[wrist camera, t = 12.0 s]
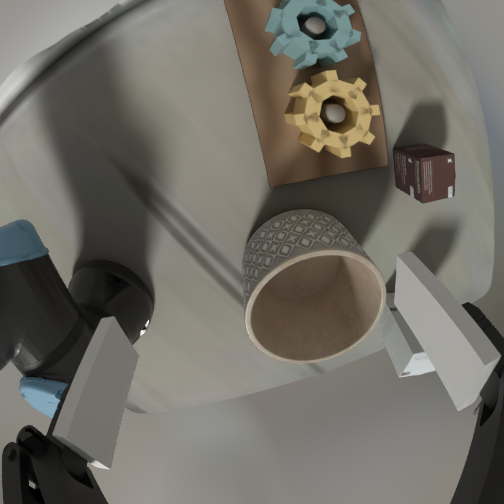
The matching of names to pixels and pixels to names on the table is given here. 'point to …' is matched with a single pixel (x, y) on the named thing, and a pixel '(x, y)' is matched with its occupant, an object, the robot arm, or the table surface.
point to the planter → (309, 288)
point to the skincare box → (402, 342)
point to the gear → (302, 46)
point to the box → (424, 172)
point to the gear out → (342, 94)
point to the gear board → (280, 102)
